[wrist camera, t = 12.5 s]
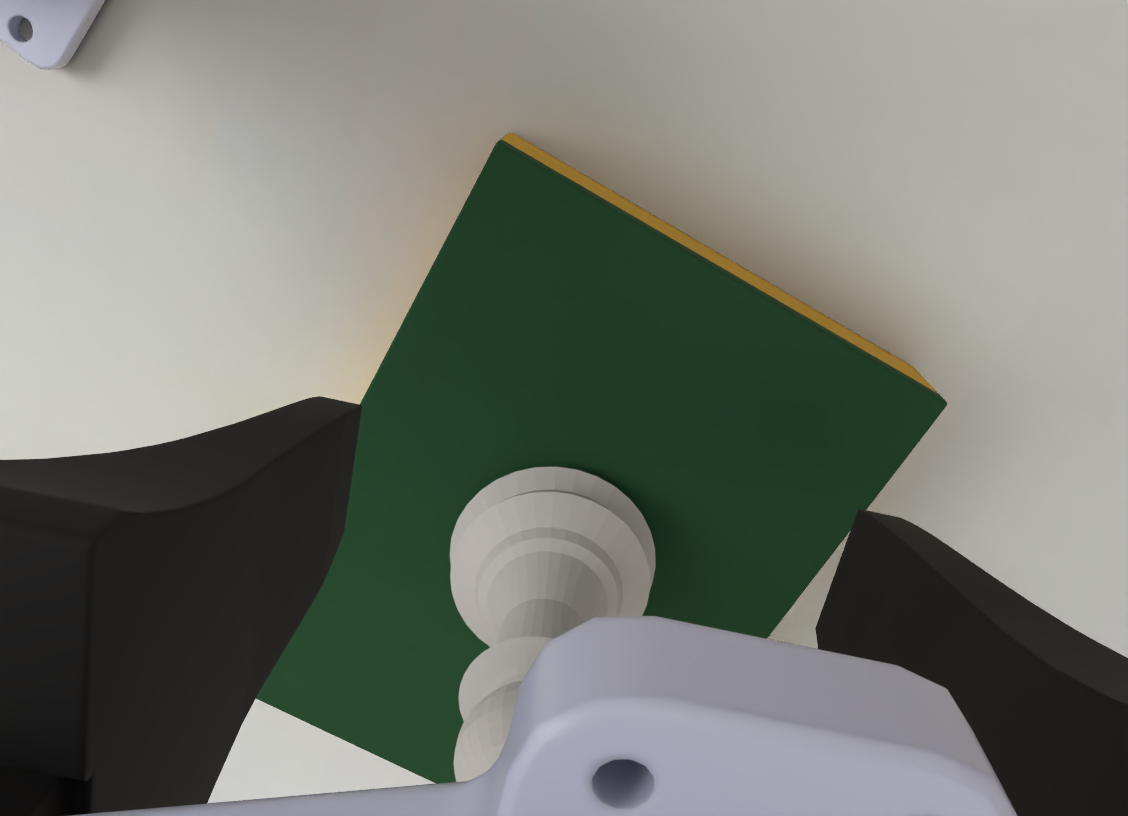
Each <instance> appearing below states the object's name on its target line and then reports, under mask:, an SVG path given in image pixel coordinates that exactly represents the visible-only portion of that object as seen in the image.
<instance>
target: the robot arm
mask: <svg viewBox="0 0 1128 816" xmlns="http://www.w3.org/2000/svg"><path fill="white" fill-rule="evenodd" d="M104 2H105V0H0V40H1V41H2V42H4V43H5V44H6V45H7V46H9V47H10V48H11V49H13V50H14V51H15V52H17V53H18V54H19V55H20V56H22V57H23V58H24V59H26V60H27V61H28V62H30V63H31V64H32V65H34V66H36V67H38V68H40V69H48V70H51V69H59V68H62V67H65V65H66V64H67V63H68V62H69V61H70V60H71V58H72V57H73V55H74V53H75V52H76V50H77V48H78V46H79V45H80V43H81V41H82V40H83V38H84V36H85V35H86V33H87V31H88V29H89V28H90V26H91V24H92V23H93V21H94V19H95V17H96V16H97V14H98V12H99V11H100V9H101V7H102V6H103V4H104ZM24 17H25V18H27V19H28V21H29V22H30V23H31V24H32V28H33V35H32V38H31V39H30V40H29V41H28V40H25V38H24V37H23V36H22V35H21V33H20V30H19V24H20V20H21V19H22V18H24ZM361 410H362V405H358V404H354V403H349V402H344V401H339V400H334V399H330V398H325V397H320V396H319V397H312V398H308V399H305V400H302V401H299V402H295V403H293V404H290V405H287V406H284V407H281V408H278V409H275V410H273V411H270V412H267V413H264V414H261V415H258V416H255V417H253V418H250V419H247V420H244V421H241V422H238V423H235V424H232V425H228V426H225V427H222V428H218V429H215V430H211V431H208V432H205V433H201V434H198V435H194V436H191V437H187V438H184V439H180V440H176V441H172V442H167V443H162V444H158V445H153V446H147V447H142V448H136V449H130V450H125V451H118V452H111V453H102V454H92V455H81V456H70V457H60V458H49V459H24V460H0V816H1128V658H1126V657H1124V656H1123V655H1121V654H1119V653H1117V652H1115V651H1113V650H1111V649H1109V648H1108V647H1106V646H1104V645H1102V644H1100V643H1098V642H1096V641H1095V640H1093V639H1091V638H1089V637H1087V636H1085V635H1084V634H1082V633H1080V632H1079V631H1077V630H1075V629H1073V628H1072V627H1070V626H1068V625H1067V624H1065V623H1063V622H1062V621H1060V620H1059V619H1057V618H1055V617H1054V616H1052V615H1051V614H1049V613H1047V612H1046V611H1044V610H1043V609H1041V608H1039V607H1038V606H1036V605H1035V604H1033V603H1031V602H1030V601H1028V600H1027V599H1025V598H1024V597H1022V596H1021V595H1019V594H1018V593H1016V592H1015V591H1013V590H1012V589H1010V588H1009V587H1007V586H1006V585H1004V584H1003V583H1001V582H1000V581H998V580H997V579H996V578H994V577H993V576H991V575H990V574H988V573H987V572H985V571H984V570H983V569H981V568H980V567H978V566H977V565H975V564H974V563H972V562H971V561H970V560H968V559H967V558H965V557H964V556H962V555H961V554H959V553H958V552H957V551H955V550H954V549H952V548H951V547H949V546H948V545H946V544H945V543H943V542H942V541H940V540H939V539H937V538H936V537H934V536H933V535H931V534H930V533H928V532H926V531H925V530H923V529H921V528H920V527H918V526H916V525H914V524H913V523H911V522H909V521H906V520H904V519H902V518H899V517H894V516H890V515H885V514H880V513H875V512H870V511H866V510H861V509H858V512H857V514H856V517H855V520H854V523H853V525H852V528H851V531H850V534H849V537H848V539H847V542H846V545H845V548H844V551H843V553H842V556H841V559H840V562H839V564H838V567H837V570H836V573H835V576H834V578H833V581H832V584H831V587H830V590H829V592H828V595H827V598H826V601H825V603H824V606H823V609H822V612H821V615H820V617H819V620H818V623H817V626H816V635H817V643H818V649H814V648H810V647H805V646H800V645H795V644H790V643H785V642H780V641H775V640H770V639H765V638H760V637H755V636H751V635H746V634H741V633H736V632H731V631H726V630H721V629H716V628H711V627H706V626H701V625H696V624H692V623H687V622H682V621H677V620H672V619H667V618H662V617H657V616H626V617H594V618H592V619H590V620H588V621H586V622H584V623H583V624H581V625H579V626H577V627H575V628H573V629H571V630H569V631H568V632H566V633H564V634H562V635H560V636H558V637H556V638H554V639H553V640H551V641H549V642H547V643H545V644H544V646H543V647H542V649H541V651H540V652H539V654H538V656H537V658H536V659H535V661H534V663H533V664H532V666H531V668H530V669H529V671H528V673H527V674H526V676H525V678H524V679H523V681H522V683H521V684H520V686H519V690H518V694H517V698H516V703H515V707H514V711H513V716H512V720H511V724H510V729H509V733H508V737H507V739H506V742H505V744H504V747H503V749H502V751H501V754H500V756H499V758H498V759H497V761H496V762H495V763H494V764H493V765H492V767H491V768H490V769H489V770H488V771H486V772H485V773H483V774H481V775H479V776H477V777H476V778H473V779H471V780H469V781H462V782H451V783H439V784H427V785H416V786H404V787H393V788H381V789H370V790H358V791H347V792H335V793H323V794H312V795H300V796H289V797H277V798H266V799H254V800H242V801H231V802H219V803H208V804H207V802H208V800H209V797H210V795H211V793H212V790H213V788H214V786H215V783H216V781H217V779H218V777H219V774H220V772H221V770H222V768H223V765H224V763H225V761H226V759H227V756H228V754H229V752H230V750H231V747H232V745H233V743H234V741H235V739H236V736H237V734H238V732H239V730H240V727H241V725H242V723H243V721H244V719H245V717H246V715H247V713H248V712H249V710H250V708H251V706H252V704H253V702H254V700H255V698H256V697H257V695H258V693H259V692H260V690H261V688H262V687H263V685H264V683H265V682H266V680H267V678H268V676H269V675H270V673H271V671H272V670H273V668H274V666H275V665H276V663H277V661H278V660H279V658H280V656H281V655H282V653H283V651H284V650H285V648H286V646H287V645H288V643H289V641H290V640H291V638H292V636H293V635H294V633H295V631H296V630H297V628H298V626H299V625H300V623H301V621H302V620H303V618H304V616H305V615H306V613H307V611H308V610H309V608H310V606H311V604H312V603H313V601H314V599H315V598H316V596H317V594H318V592H319V591H320V589H321V587H322V585H323V583H324V581H325V579H326V576H327V574H328V571H329V569H330V567H331V564H332V562H333V559H334V557H335V554H336V552H337V549H338V547H339V544H340V541H341V539H342V536H343V534H344V530H345V523H346V516H347V509H348V502H349V495H350V488H351V481H352V474H353V467H354V460H355V452H356V445H357V438H358V431H359V424H360V417H361Z"/></svg>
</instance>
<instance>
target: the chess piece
mask: <svg viewBox="0 0 1128 816" xmlns="http://www.w3.org/2000/svg"><path fill="white" fill-rule="evenodd" d="M450 563H451V572H450V581H451V589H452V595H453V598H454V601H455V604H456V607H457V610H458V611H459V613H460V615H461V616H462V618H463V620H464V621H465V623H466V625H467V626H468V627H469V628H470V629H471V630H472V631H473V632H474V634H475V635H476V636H477V637H478V638H479V639H480V640H482V641H483V642H484V643H486V644H487V645H488V646H490V648H489V649H487V650H485V651H484V652H482V653H481V654H480V655H479V656H478V657H477V658H476V659H475V660H474V661H473V662H472V663H471V664H470V666H469V667H468V669H467V670H466V672H465V673H464V676H463V679H462V681H461V684H460V689H459V697H458V699H459V708H460V712H461V715H462V718H463V721H464V723H463V725H462V727H461V730H460V732H459V735H458V739H457V743H456V748H455V754H454V762H453V763H454V772H455V778H456V782H462V781H469V780H471V779H473V778H476V777H477V776H479V775H481V774H483V773H485V772H486V771H488V770H489V769H490V768H491V767H492V765H493V764H494V763H495V762H496V761H497V759H498V758H499V756H500V754H501V751H502V749H503V747H504V744H505V742H506V739H507V737H508V733H509V729H510V724H511V720H512V716H513V711H514V707H515V703H516V698H517V694H518V690H519V686H520V684H521V683H522V681H523V679H524V678H525V676H526V674H527V673H528V671H529V669H530V668H531V666H532V664H533V663H534V661H535V659H536V658H537V656H538V654H539V652H540V651H541V649H542V647H543V646H544V644H545V643H547V642H549V641H551V640H553V639H554V638H556V637H558V636H560V635H562V634H564V633H566V632H568V631H569V630H571V629H573V628H575V627H577V626H579V625H581V624H583V623H584V622H586V621H588V620H590V619H592V618H594V617H626V616H642V615H643V613H644V610H645V608H646V606H647V602H648V597H649V592H650V588H651V586H652V582H653V577H654V572H655V567H656V563H655V546H654V542H653V538H652V535H651V531H650V529H649V527H648V525H647V523H646V521H645V519H644V517H643V515H642V513H641V512H640V511H639V510H638V508H637V507H636V506H635V505H634V503H633V502H632V501H631V500H630V499H629V498H628V497H627V496H626V495H625V494H623V493H622V492H621V491H620V490H619V489H617V488H616V487H615V486H613V485H611V484H610V483H608V482H606V481H604V480H603V479H601V478H599V477H597V476H594V475H591V474H588V473H585V472H583V471H580V470H576V469H569V468H562V467H534V468H530V469H525V470H521V471H516V472H513V473H511V474H509V475H506V476H504V477H502V478H499V479H497V480H495V481H494V482H492V483H491V484H489V485H488V486H486V487H485V488H483V489H482V490H481V491H479V493H478V494H477V495H476V496H475V497H474V498H473V499H472V500H471V501H470V502H469V503H468V504H467V505H466V507H465V509H464V510H463V512H462V513H461V515H460V517H459V518H458V520H457V523H456V525H455V528H454V531H453V534H452V537H451V546H450Z"/></svg>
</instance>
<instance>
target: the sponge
mask: <svg viewBox="0 0 1128 816" xmlns="http://www.w3.org/2000/svg"><path fill="white" fill-rule="evenodd" d="M360 405H362V410H361V417H360V424H359V431H358V438H357V445H356V452H355V460H354V467H353V474H352V481H351V488H350V495H349V502H348V509H347V516H346V523H345V530H344V534H343V536H342V539H341V541H340V544H339V547H338V549H337V552H336V554H335V557H334V559H333V562H332V564H331V567H330V569H329V571H328V574H327V576H326V579H325V581H324V583H323V585H322V587H321V589H320V591H319V592H318V594H317V596H316V598H315V599H314V601H313V603H312V604H311V606H310V608H309V610H308V611H307V613H306V615H305V616H304V618H303V620H302V621H301V623H300V625H299V626H298V628H297V630H296V631H295V633H294V635H293V636H292V638H291V640H290V641H289V643H288V645H287V646H286V648H285V650H284V651H283V653H282V655H281V656H280V658H279V660H278V661H277V663H276V665H275V666H274V668H273V670H272V671H271V673H270V675H269V676H268V678H267V680H266V682H265V683H264V685H263V687H262V688H261V690H260V692H259V693H258V695H257V697H256V699H258V700H260V701H263V702H265V703H267V704H269V705H271V706H273V707H275V708H277V709H280V710H282V711H284V712H286V713H288V714H290V715H292V716H294V717H296V718H299V719H301V720H303V721H305V722H307V723H309V724H311V725H313V726H316V727H318V728H320V729H322V730H324V731H326V732H328V733H330V734H333V735H335V736H337V737H339V738H341V739H343V740H345V741H347V742H349V743H352V744H354V745H356V746H358V747H360V748H362V749H364V750H366V751H369V752H371V753H373V754H375V755H377V756H379V757H381V758H383V759H386V760H388V761H390V762H392V763H394V764H396V765H398V766H400V767H402V768H405V769H407V770H409V771H411V772H413V773H415V774H417V775H419V776H422V777H424V778H426V779H428V780H430V781H432V782H434V783H436V784H439V783H451V782H456V778H455V772H454V763H453V762H454V754H455V748H456V743H457V739H458V735H459V732H460V730H461V727H462V725H463V723H464V721H463V718H462V715H461V712H460V708H459V699H458V697H459V689H460V684H461V681H462V679H463V676H464V673H465V672H466V670H467V669H468V667H469V666H470V664H471V663H472V662H473V661H474V660H475V659H476V658H477V657H478V656H479V655H480V654H481V653H482V652H484V651H485V650H487V649H489V648H490V646H488V645H487V644H486V643H484V642H483V641H482V640H480V639H479V638H478V637H477V636H476V635H475V634H474V632H473V631H472V630H471V629H470V628H469V627H468V626H467V625H466V623H465V621H464V620H463V618H462V616H461V615H460V613H459V611H458V610H457V607H456V604H455V601H454V598H453V595H452V589H451V581H450V572H451V563H450V546H451V537H452V534H453V531H454V528H455V525H456V523H457V520H458V518H459V517H460V515H461V513H462V512H463V510H464V509H465V507H466V505H467V504H468V503H469V502H470V501H471V500H472V499H473V498H474V497H475V496H476V495H477V494H478V493H479V491H481V490H482V489H483V488H485V487H486V486H488V485H489V484H491V483H492V482H494V481H495V480H497V479H499V478H502V477H504V476H506V475H509V474H511V473H513V472H516V471H521V470H525V469H530V468H534V467H562V468H569V469H576V470H580V471H583V472H585V473H588V474H591V475H594V476H597V477H599V478H601V479H603V480H604V481H606V482H608V483H610V484H611V485H613V486H615V487H616V488H617V489H619V490H620V491H621V492H622V493H623V494H625V495H626V496H627V497H628V498H629V499H630V500H631V501H632V502H633V503H634V505H635V506H636V507H637V508H638V510H639V511H640V512H641V513H642V515H643V517H644V519H645V521H646V523H647V525H648V527H649V529H650V531H651V535H652V538H653V542H654V546H655V563H656V567H655V572H654V577H653V582H652V586H651V588H650V592H649V597H648V602H647V606H646V608H645V610H644V613H643V615H642V616H657V617H662V618H667V619H672V620H677V621H682V622H687V623H692V624H696V625H701V626H706V627H711V628H716V629H721V630H726V631H731V632H736V633H741V634H746V635H751V636H755V637H760V638H765V639H767V638H768V637H769V635H770V634H771V633H772V631H773V630H774V629H775V627H776V626H777V625H778V624H779V622H780V621H781V620H782V618H783V617H784V616H785V615H786V613H787V612H788V611H789V609H790V608H791V607H792V605H793V604H794V603H795V602H796V600H797V599H798V598H799V596H800V595H801V594H802V592H803V591H804V590H805V589H806V587H807V586H808V585H809V583H810V582H811V581H812V579H813V578H814V577H815V576H816V574H817V573H818V572H819V570H820V569H821V568H822V566H823V565H824V564H825V563H826V561H827V560H828V559H829V557H830V556H831V555H832V554H833V552H834V551H835V550H836V548H837V547H838V546H839V544H840V543H841V542H842V541H843V539H844V538H845V537H846V535H847V534H848V533H849V531H850V530H851V528H852V525H853V523H854V520H855V517H856V514H857V512H858V509H861V510H866V509H867V508H868V507H869V506H870V504H871V503H872V502H873V500H874V499H875V498H876V496H877V495H878V494H879V493H880V491H881V490H882V489H883V487H884V486H885V485H886V483H887V482H888V481H889V480H890V478H891V477H892V476H893V474H894V473H895V472H896V470H897V469H898V468H899V467H900V465H901V464H902V463H903V461H904V460H905V459H906V457H907V456H908V455H909V454H910V452H911V451H912V450H913V448H914V447H915V446H916V445H917V443H918V442H919V441H920V439H921V438H922V437H923V435H924V434H925V433H926V432H927V430H928V429H929V428H930V426H931V425H932V424H933V422H934V421H935V420H936V419H937V417H938V416H939V415H940V413H941V412H942V411H943V409H944V408H945V407H946V405H947V402H946V401H945V400H944V399H943V398H942V397H941V396H940V395H939V394H938V393H937V392H936V391H935V390H934V389H933V387H932V386H931V385H930V384H929V383H928V382H927V381H926V380H925V379H924V378H923V377H922V376H921V375H920V373H919V372H918V371H917V370H916V369H915V368H914V367H912V366H910V365H909V364H907V363H905V362H903V361H902V360H900V359H898V358H897V357H895V356H893V355H891V354H890V353H888V352H886V351H885V350H883V349H881V348H879V347H878V346H876V345H874V344H873V343H871V342H869V341H867V340H866V339H864V338H862V337H861V336H859V335H857V334H855V333H854V332H852V331H850V330H849V329H847V328H845V327H844V326H842V325H840V324H838V323H837V322H835V321H833V320H832V319H830V318H828V317H826V316H825V315H823V314H821V313H820V312H818V311H816V310H814V309H813V308H811V307H809V306H808V305H806V304H804V303H802V302H801V301H799V300H797V299H796V298H794V297H792V296H790V295H789V294H787V293H785V292H784V291H782V290H780V289H778V288H777V287H775V286H773V285H772V284H770V283H768V282H767V281H765V280H763V279H761V278H760V277H758V276H756V275H755V274H753V273H751V272H749V271H748V270H746V269H744V268H743V267H741V266H739V265H737V264H736V263H734V262H732V261H731V260H729V259H727V258H725V257H724V256H722V255H720V254H719V253H717V252H715V251H713V250H712V249H710V248H708V247H707V246H705V245H703V244H701V243H700V242H698V241H696V240H695V239H693V238H691V237H690V236H688V235H686V234H684V233H683V232H681V231H679V230H678V229H676V228H674V227H672V226H671V225H669V224H667V223H666V222H664V221H662V220H660V219H659V218H657V217H655V216H654V215H652V214H650V213H648V212H647V211H645V210H643V209H642V208H640V207H638V206H636V205H635V204H633V203H631V202H630V201H628V200H626V199H625V198H623V197H621V196H619V195H618V194H616V193H614V192H613V191H611V190H609V189H607V188H606V187H604V186H602V185H601V184H599V183H597V182H595V181H594V180H592V179H590V178H589V177H587V176H585V175H583V174H582V173H580V172H578V171H577V170H575V169H573V168H571V167H570V166H568V165H566V164H565V163H563V162H561V161H559V160H558V159H556V158H554V157H553V156H551V155H549V154H548V153H546V152H544V151H542V150H541V149H539V148H537V147H536V146H534V145H532V144H530V143H529V142H527V141H525V140H524V139H522V138H520V137H518V136H517V135H515V134H513V133H508V134H507V135H506V136H504V137H503V138H502V139H501V140H500V141H498V142H497V143H496V145H495V147H494V149H493V150H492V152H491V154H490V156H489V158H488V160H487V162H486V164H485V166H484V168H483V170H482V172H481V173H480V175H479V177H478V179H477V181H476V183H475V185H474V187H473V189H472V191H471V193H470V195H469V196H468V198H467V200H466V202H465V204H464V206H463V208H462V210H461V212H460V214H459V216H458V218H457V219H456V221H455V223H454V225H453V227H452V229H451V231H450V233H449V235H448V237H447V239H446V240H445V242H444V244H443V246H442V248H441V250H440V252H439V254H438V256H437V258H436V260H435V262H434V263H433V265H432V267H431V269H430V271H429V273H428V275H427V277H426V279H425V281H424V283H423V285H422V286H421V288H420V290H419V292H418V294H417V296H416V298H415V300H414V302H413V304H412V306H411V308H410V309H409V311H408V313H407V315H406V317H405V319H404V321H403V323H402V325H401V327H400V329H399V331H398V332H397V334H396V336H395V338H394V340H393V342H392V344H391V346H390V348H389V350H388V352H387V354H386V355H385V357H384V359H383V361H382V363H381V365H380V367H379V369H378V371H377V373H376V375H375V377H374V378H373V380H372V382H371V384H370V386H369V388H368V390H367V392H366V394H365V396H364V398H363V400H362V401H361V403H360Z"/></svg>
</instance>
